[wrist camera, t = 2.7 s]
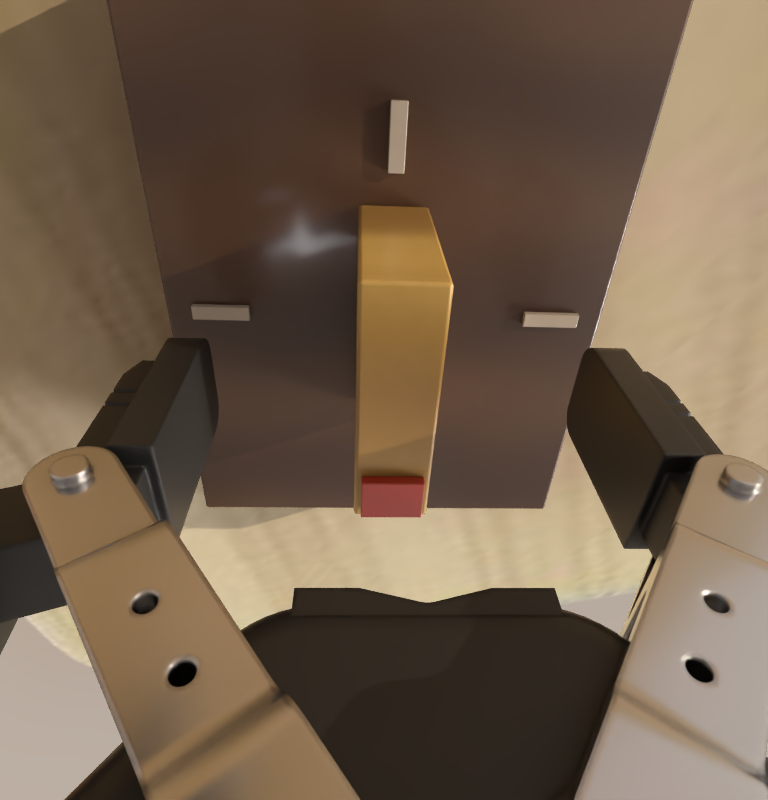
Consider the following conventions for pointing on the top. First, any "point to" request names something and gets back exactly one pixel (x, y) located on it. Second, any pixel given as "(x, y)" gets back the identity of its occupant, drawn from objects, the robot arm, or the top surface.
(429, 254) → the red-tipped tan block
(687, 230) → the top surface
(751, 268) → the top surface
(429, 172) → the lock plate
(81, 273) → the top surface
